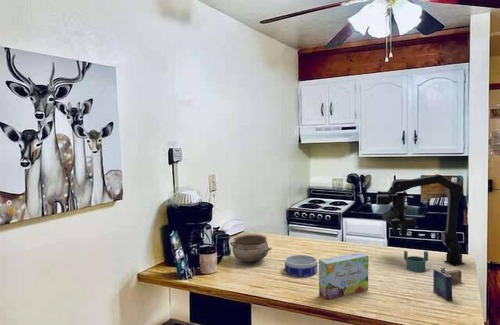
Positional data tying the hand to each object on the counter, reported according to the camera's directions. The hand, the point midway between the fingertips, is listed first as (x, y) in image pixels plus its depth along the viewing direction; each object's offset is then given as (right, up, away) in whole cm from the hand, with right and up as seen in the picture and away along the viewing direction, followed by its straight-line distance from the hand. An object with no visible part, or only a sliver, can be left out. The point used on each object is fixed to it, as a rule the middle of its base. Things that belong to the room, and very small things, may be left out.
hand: (398, 235), depth 192 cm
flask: (+2, -16, -40) cm, 43 cm away
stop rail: (+10, -15, -29) cm, 34 cm away
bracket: (+4, -14, -10) cm, 18 cm away
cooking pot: (-74, -15, +8) cm, 76 cm away
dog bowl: (-50, -16, -8) cm, 53 cm away
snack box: (-36, -17, -34) cm, 52 cm away
